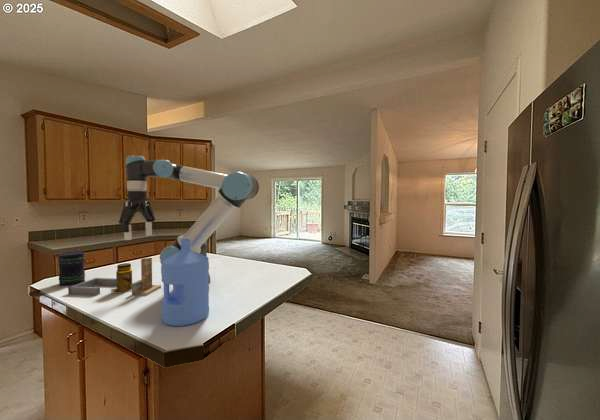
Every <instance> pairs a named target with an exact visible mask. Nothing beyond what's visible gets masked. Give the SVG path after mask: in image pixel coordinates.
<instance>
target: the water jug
mask: <svg viewBox="0 0 600 420" xmlns="http://www.w3.org/2000/svg"><path fill="white" fill-rule="evenodd" d="M190 245H191V244H190V239H181V251H180V252H178V253H176V254H174V255H172V256H170V257H168V258H166V259H164V260H163V261H162V265H161V267H160V272H161V282H162V283H163V298H162V300H161V321H162V323H164V324H165V325H167V326H171V327H185V326H189V325H190V326H191V325H194V324H196V323H197V324H198V322H201V321H203V320H205V318H207V317H208V315H209V314H210V305H209V304H210V303H209V301H210V299H209V298H210V297H209V294H210V283H209V275H210V272H209V270H210V261H209V257H208V256H204V255H202V254H199V253H196V252H194V251H191V249H190ZM170 285H171V286H172V292H171V293H170Z"/></svg>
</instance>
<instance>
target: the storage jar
mask: <svg viewBox="0 0 600 420" xmlns="http://www.w3.org/2000/svg"><path fill="white" fill-rule="evenodd" d="M85 261H86V260H85V251H83V250H81V251H80V250H79V251H77V250H76V251H68V252H67V251H66V252H61V253H58V261H57V262H58V267H59V273H58V282H59V284H58V285H59V286H60V287H71V286H74V285H76V284H79V283H82V282H85V281H86V280H85V279H86V271H85Z"/></svg>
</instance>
